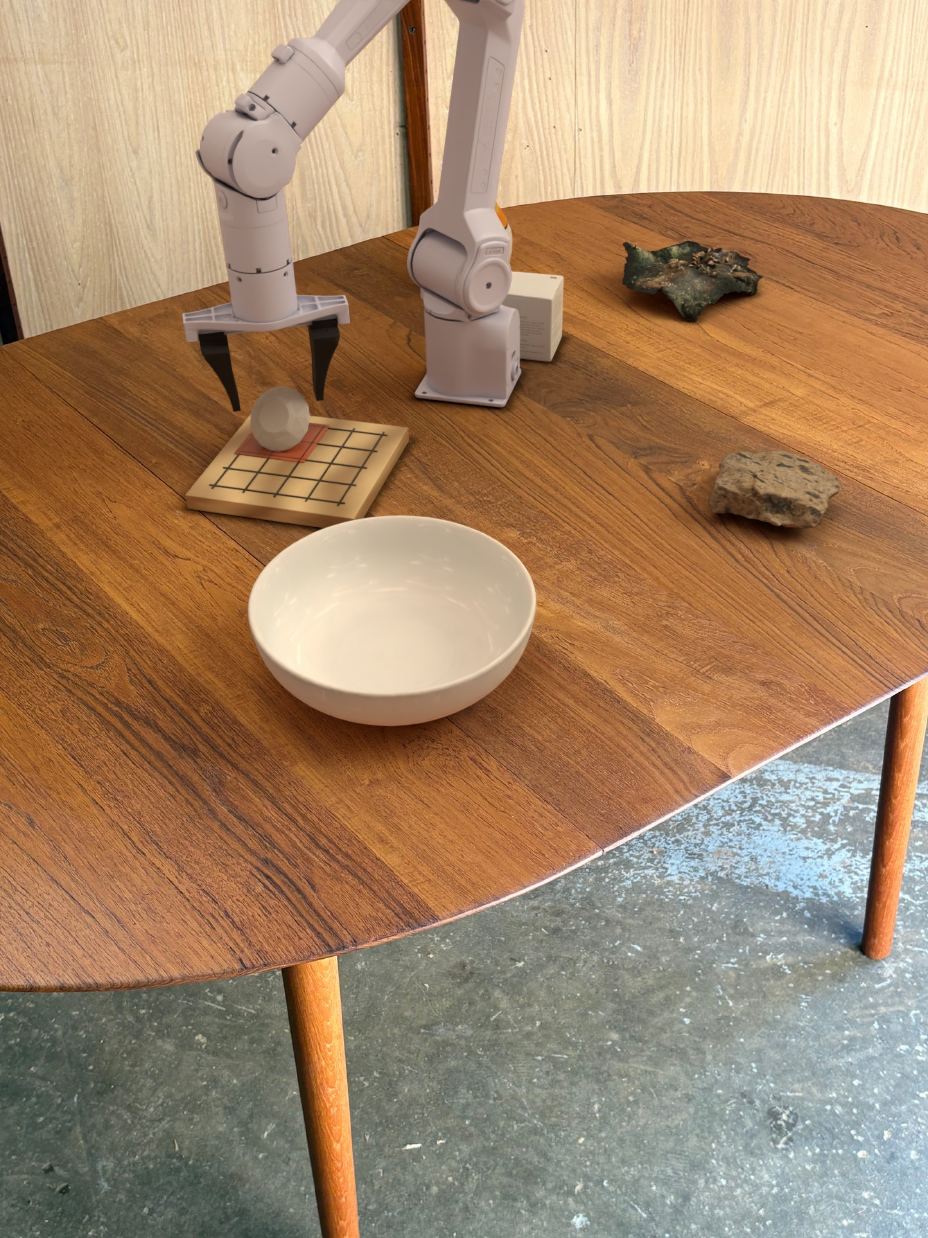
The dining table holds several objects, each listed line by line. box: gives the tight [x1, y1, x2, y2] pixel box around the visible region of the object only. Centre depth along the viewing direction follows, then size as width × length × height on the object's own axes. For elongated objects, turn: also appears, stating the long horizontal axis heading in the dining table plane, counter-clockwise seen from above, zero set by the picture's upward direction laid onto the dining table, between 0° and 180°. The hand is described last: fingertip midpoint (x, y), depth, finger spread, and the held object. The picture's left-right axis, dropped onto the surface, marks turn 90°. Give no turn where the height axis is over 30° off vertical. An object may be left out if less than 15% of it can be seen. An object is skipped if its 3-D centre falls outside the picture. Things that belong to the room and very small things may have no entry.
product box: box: [501, 270, 565, 362], centre depth 131 cm, size 6×6×7 cm
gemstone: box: [250, 385, 311, 452], centre depth 115 cm, size 6×6×5 cm
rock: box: [707, 450, 843, 530], centre depth 107 cm, size 11×11×4 cm
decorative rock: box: [621, 240, 764, 322], centre depth 144 cm, size 19×6×15 cm
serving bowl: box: [247, 515, 537, 727], centre depth 90 cm, size 21×21×7 cm
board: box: [184, 413, 410, 529], centre depth 114 cm, size 16×16×2 cm
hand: (277, 400), depth 113 cm, fingers open, 7 cm apart
